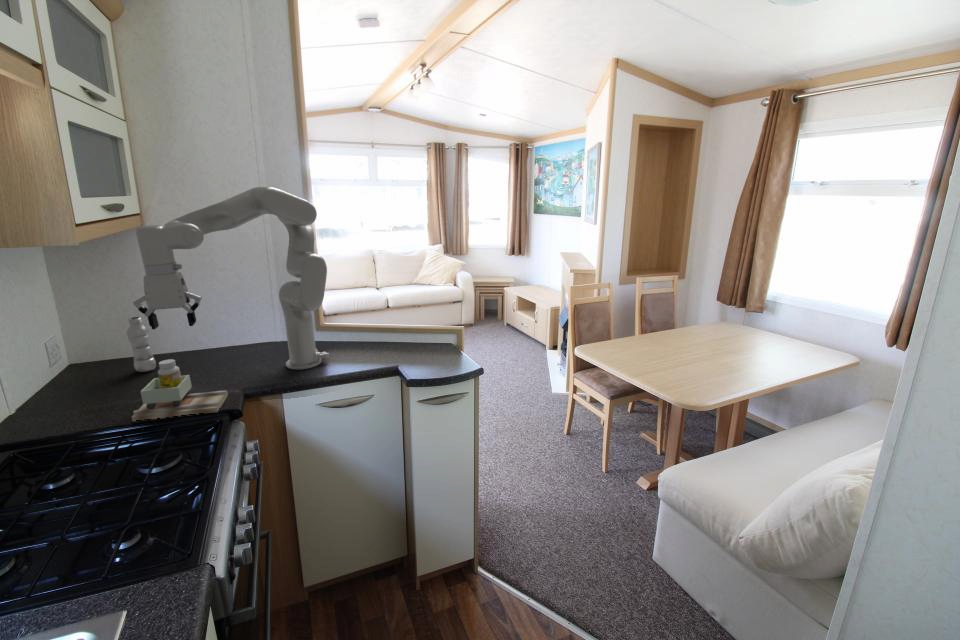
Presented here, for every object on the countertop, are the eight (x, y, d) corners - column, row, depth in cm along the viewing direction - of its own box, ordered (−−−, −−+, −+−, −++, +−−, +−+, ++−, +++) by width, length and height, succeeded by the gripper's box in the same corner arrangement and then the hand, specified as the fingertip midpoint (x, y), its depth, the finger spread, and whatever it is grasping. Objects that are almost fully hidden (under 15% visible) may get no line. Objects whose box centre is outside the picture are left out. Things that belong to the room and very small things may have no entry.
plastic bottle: (140, 375, 162) (128, 321, 156) (132, 371, 165) (119, 318, 160) (160, 369, 167) (149, 317, 161) (151, 365, 171) (140, 314, 165)
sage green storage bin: (192, 392, 143) (189, 374, 141) (182, 406, 134) (178, 387, 132) (158, 396, 140) (154, 378, 139) (144, 410, 131) (140, 391, 130)
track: (228, 394, 147) (226, 388, 146) (217, 411, 136) (216, 405, 135) (150, 403, 141) (148, 396, 141) (132, 421, 130) (130, 414, 130)
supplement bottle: (188, 388, 138) (182, 359, 136) (171, 396, 133) (165, 365, 131) (174, 386, 140) (168, 357, 137) (157, 394, 135) (151, 363, 132)
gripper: (198, 265, 135) (210, 320, 141) (131, 269, 131) (145, 325, 136) (190, 269, 128) (202, 327, 134) (119, 274, 124) (135, 333, 129)
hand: (174, 326), depth 135 cm, fingers open, 9 cm apart
